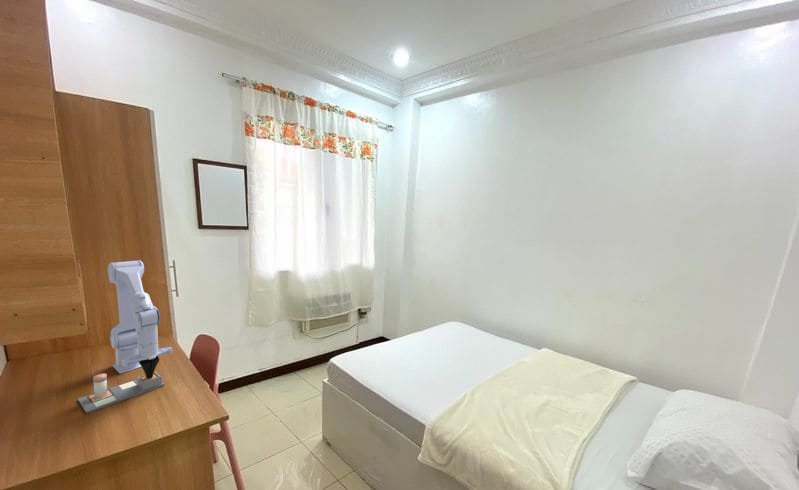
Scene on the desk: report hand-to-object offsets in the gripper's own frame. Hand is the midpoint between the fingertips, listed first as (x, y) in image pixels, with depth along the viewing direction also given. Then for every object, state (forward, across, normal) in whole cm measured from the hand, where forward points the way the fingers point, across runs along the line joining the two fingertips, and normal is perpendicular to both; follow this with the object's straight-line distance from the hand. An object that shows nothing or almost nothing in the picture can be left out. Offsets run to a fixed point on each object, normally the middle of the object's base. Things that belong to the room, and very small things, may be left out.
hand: (149, 377), depth 116 cm
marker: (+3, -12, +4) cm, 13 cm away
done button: (+2, 0, 0) cm, 2 cm away
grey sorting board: (+3, -7, +2) cm, 8 cm away
